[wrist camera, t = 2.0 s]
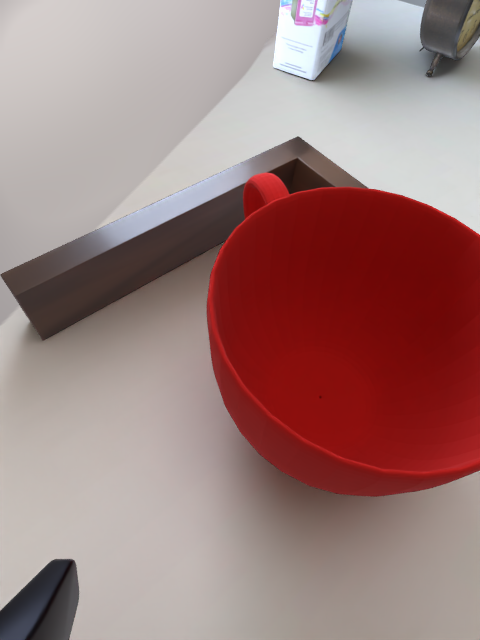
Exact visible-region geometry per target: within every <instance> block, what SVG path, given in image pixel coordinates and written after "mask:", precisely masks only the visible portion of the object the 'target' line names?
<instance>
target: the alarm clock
mask: <svg viewBox="0 0 480 640" xmlns="http://www.w3.org/2000/svg"><path fill="white" fill-rule="evenodd" d="M479 36H480V0H427V1H426V4H425V8H424V12H423V16H422V21H421V28H420V38H421V43H422V45H423V48H422V49H424V48H425V49H426V50H428V51H431V52H434V53H436V56H435V58H434V59H433V62H432V64H431V67H430V70H428V71H427V73H426V75H427V76H432V74H433V70H434V69H435V68H436V67H437V65H438V64H439V62H440V60H441V58H442V57H449V58H451V59H454V60H459V59H461V58H462V57H464V56H465V55H466V54H467V53H468V52H469V50H470V49H471V48H472V46H473V45H474V44H475V42H476V41H477V40H478V38H479ZM422 49H421V50H422ZM421 50H420V51H421Z"/></svg>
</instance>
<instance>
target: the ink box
mask: <svg viewBox="0 0 480 640" xmlns="http://www.w3.org/2000/svg"><path fill="white" fill-rule="evenodd" d="M351 5H352V0H281V3H280V11H279V20H278V29H277V38H276V47H275V55H274V64H273V67H274V68H277V69H280V70H282V71H285V72H288V73H291V74H294V75H297V76H300V77H303V78H306V79H309V80H315V78H316V77H317V76H318V75H319V74H320V73H321V72H322V70H323V69H324V68H325V67H326V66H327V65H328V64H329V63H330V61H331V60H332V59H333V58H334V57H335V56H336V55H337V54H338V52H339V51H340V50H341V48H342V44H343V39H344V35H345V30H346V26H347V22H348V17H349V13H350V9H351Z"/></svg>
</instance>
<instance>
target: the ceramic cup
mask: <svg viewBox="0 0 480 640" xmlns="http://www.w3.org/2000/svg"><path fill="white" fill-rule="evenodd" d="M243 207H244V216H245V220H244V221H243V222H242V223H241V224H240V225H238V226H237V227H236V228H235V229H234V230H233V232H232V233H231V235H230V236H229V237H228V239H227V240H226V242H225V243H224V244H223V246H222V247H221V249H220V251H219V253H218V256H217V259H216V261H215V264H214V266H213V269H212V271H211V275H210V282H209V290H208V298H207V322H208V331H209V340H210V349H211V358H212V364H213V370H214V374H215V377H216V380H217V383H218V386H219V389H220V392H221V395H222V398H223V401H224V404H225V406H226V408H227V410H228V412H229V414H230V415H231V417H232V419H233V420H234V422H235V424H236V425H237V427H238V429H239V431H240V432H241V434H242V435H243V436H244V437H245V438H246V439H247V440H248V442H249V443H250V444H251V445H252V446H253V447H254V448H255V450H256V451H257V452H258V453H259V454H260V455H261V456H262V457H264V458H265V459H266V460H268V461H269V462H270V463H271V464H273V465H274V466H275V467H277V468H278V469H279V470H280V471H282V472H283V473H285V474H287V475H289V476H291V477H293V478H295V479H297V480H299V481H301V482H303V483H305V484H307V485H308V486H312V487H315V488H319V489H322V490H326V491H329V492H333V493H336V494H344V495H357V496H370V497H377V496H385V495H392V494H400V493H407V492H414V491H420V490H425V489H429V488H433V487H437V486H440V485H443V484H446V483H449V482H452V481H454V480H457V479H459V478H462V477H464V476H467V475H470V474H472V473H475V472H477V471H480V235H479V234H478V233H476V232H475V231H473V230H472V229H470V228H469V227H467V226H466V225H464V224H463V223H461V222H460V221H458V220H457V219H455V218H453V217H451V216H449V215H447V214H445V213H444V212H442V211H440V210H438V209H436V208H434V207H432V206H430V205H427V204H424V203H422V202H419V201H416V200H413V199H411V198H408V197H405V196H402V195H398V194H394V193H389V192H385V191H380V190H376V189H367V188H356V187H324V188H317V189H311V190H306V191H300V192H296V193H293V194H289V192H288V190H287V188H286V186H285V185H284V183H283V182H282V181H281V179H280V178H279V177H277V176H276V175H274V174H272V173H260V174H257V175H254V176H253V177H251V178H250V179H248V181H247V183H246V184H245V187H244V192H243Z"/></svg>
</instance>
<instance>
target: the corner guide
mask: <svg viewBox="0 0 480 640" xmlns="http://www.w3.org/2000/svg"><path fill="white" fill-rule="evenodd" d="M260 173H272V174H274V175H276V176H277V177H279V178H280V179H281V181H282V182H283V183H284V185H285V186H286V188H287V190H288V192H289V194H293V193H296V192H300V191H306V190H311V189H317V188H324V187H356V188H367V187H366V186H365V185H363V184H362V183H360V182H359V181H358V180H356V179H355V178H354V177H352V176H351V175H350V174H348V173H347V172H346V171H344V170H343V169H342V168H340V167H339V166H338V165H336V164H335V163H333V162H332V161H331V160H329V159H328V158H327V157H325V156H324V155H323V154H321V153H320V152H319V151H317V150H316V149H315V148H313V147H312V146H311V145H309V144H308V143H307V142H305V141H304V140H302V139H301V138H300V137H296V138H293V139H291V140H289V141H287V142H285V143H283V144H281V145H278V146H276V147H274V148H272V149H270V150H268V151H265V152H263V153H261V154H259V155H257V156H255V157H252V158H250V159H248V160H246V161H244V162H242V163H240V164H237V165H235V166H233V167H231V168H229V169H227V170H224V171H222V172H220V173H218V174H216V175H214V176H211V177H209V178H207V179H205V180H203V181H201V182H199V183H196V184H194V185H192V186H190V187H188V188H186V189H183V190H181V191H179V192H177V193H175V194H173V195H170V196H168V197H166V198H164V199H162V200H160V201H157V202H155V203H153V204H151V205H149V206H147V207H145V208H142V209H140V210H138V211H136V212H134V213H132V214H129V215H127V216H125V217H123V218H121V219H119V220H116V221H114V222H112V223H110V224H108V225H106V226H104V227H101V228H99V229H97V230H95V231H93V232H91V233H88V234H86V235H84V236H82V237H80V238H78V239H75V240H73V241H72V242H69V243H67V244H65V245H62V246H61V247H58V248H56V249H54V250H52V251H50V252H47V253H45V254H43V255H41V256H39V257H37V258H35V259H32V260H30V261H28V262H26V263H24V264H22V265H20V266H17V267H15V268H13V269H11V270H9V271H7V272H4V273H2V274H1V277H2V279H3V280H4V282H5V283H6V285H7V286H8V288H9V289H10V291H11V292H12V294H13V296H14V297H15V299H16V300H17V302H18V303H19V305H20V306H21V308H22V310H23V311H24V313H25V314H26V316H27V317H28V319H29V320H30V322H31V323H32V325H33V327H34V328H35V330H36V331H37V333H38V334H39V336H40V337H41V339H42V340H45V339H46V338H48V337H50V336H52V335H54V334H56V333H57V332H59V331H61V330H63V329H65V328H66V327H68V326H70V325H72V324H74V323H76V322H77V321H79V320H81V319H83V318H85V317H87V316H88V315H90V314H92V313H94V312H96V311H98V310H99V309H101V308H103V307H105V306H107V305H108V304H110V303H112V302H114V301H116V300H118V299H119V298H121V297H123V296H125V295H127V294H129V293H130V292H132V291H134V290H136V289H138V288H140V287H141V286H143V285H145V284H147V283H149V282H151V281H152V280H154V279H156V278H158V277H160V276H161V275H163V274H165V273H167V272H169V271H171V270H172V269H174V268H176V267H178V266H180V265H182V264H183V263H185V262H187V261H189V260H191V259H193V258H194V257H196V256H198V255H200V254H202V253H204V252H205V251H207V250H209V249H211V248H213V247H214V246H216V245H218V244H220V243H222V242H224V241H225V240H227V239H228V237H229V236H230V235H231V233H232V232H233V230H234V229H235V228H236V227H237V226H238V225H240V224H241V223H242V222H243V221H244V220H245V216H244V207H243V192H244V187H245V184H246V183H247V181H248V179H250V178H251V177H253V176H254V175H257V174H260ZM367 189H369V188H367Z"/></svg>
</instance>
